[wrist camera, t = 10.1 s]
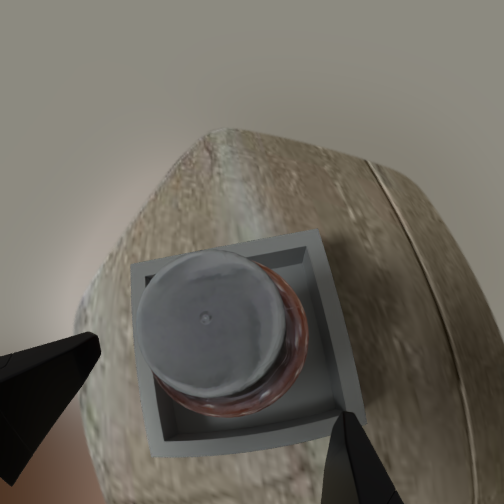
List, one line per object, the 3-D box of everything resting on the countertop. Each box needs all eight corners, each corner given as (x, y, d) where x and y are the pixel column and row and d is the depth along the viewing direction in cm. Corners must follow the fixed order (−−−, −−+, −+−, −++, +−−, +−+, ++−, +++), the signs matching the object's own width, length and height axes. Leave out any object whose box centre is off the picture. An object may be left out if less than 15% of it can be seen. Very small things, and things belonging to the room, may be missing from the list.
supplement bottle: (182, 333, 18) (82, 269, 8) (262, 292, 19) (253, 181, 9) (223, 415, 16) (155, 464, 5) (309, 371, 16) (369, 358, 6)
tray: (350, 416, 16) (367, 424, 12) (170, 445, 15) (151, 457, 12) (311, 252, 21) (317, 228, 18) (150, 282, 20) (130, 264, 17)
